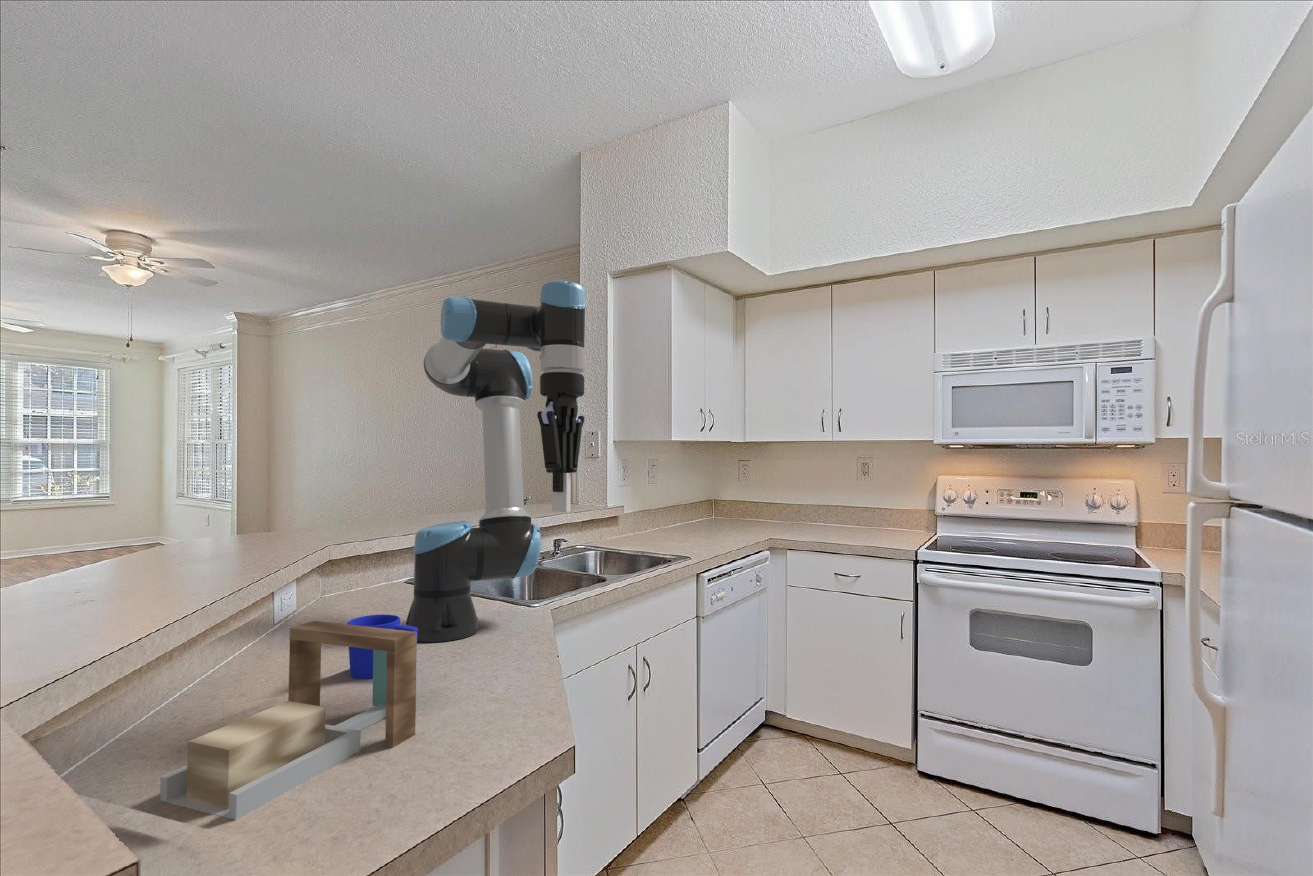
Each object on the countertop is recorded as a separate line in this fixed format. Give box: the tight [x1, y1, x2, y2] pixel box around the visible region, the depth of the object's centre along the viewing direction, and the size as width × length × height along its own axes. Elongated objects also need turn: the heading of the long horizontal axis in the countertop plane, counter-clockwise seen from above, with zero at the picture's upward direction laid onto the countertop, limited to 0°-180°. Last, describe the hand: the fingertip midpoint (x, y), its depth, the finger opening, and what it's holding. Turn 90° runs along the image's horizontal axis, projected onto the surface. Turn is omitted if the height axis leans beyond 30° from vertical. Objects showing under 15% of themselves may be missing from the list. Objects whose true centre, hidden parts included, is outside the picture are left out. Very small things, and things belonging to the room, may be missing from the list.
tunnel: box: [287, 620, 418, 749], centre depth 84 cm, size 4×17×14 cm, turn 71°
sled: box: [159, 650, 387, 821], centre depth 78 cm, size 28×11×10 cm, turn 161°
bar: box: [186, 700, 326, 810], centre depth 71 cm, size 12×6×6 cm, turn 161°
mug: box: [346, 613, 418, 680], centre depth 107 cm, size 8×12×10 cm
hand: (561, 511), depth 108 cm, fingers closed
